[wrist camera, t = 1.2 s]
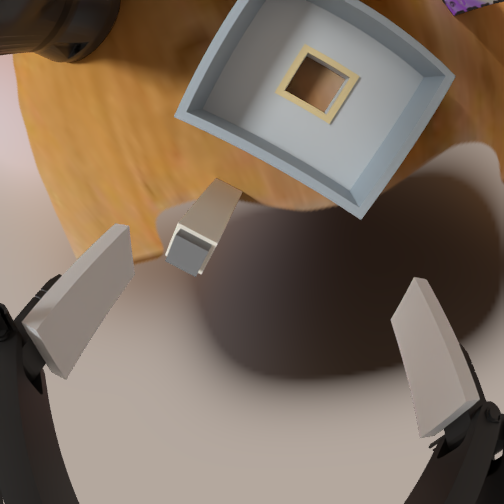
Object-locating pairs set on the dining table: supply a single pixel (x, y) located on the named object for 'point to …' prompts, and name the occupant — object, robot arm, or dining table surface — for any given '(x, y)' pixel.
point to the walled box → (305, 115)
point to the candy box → (467, 5)
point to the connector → (202, 228)
